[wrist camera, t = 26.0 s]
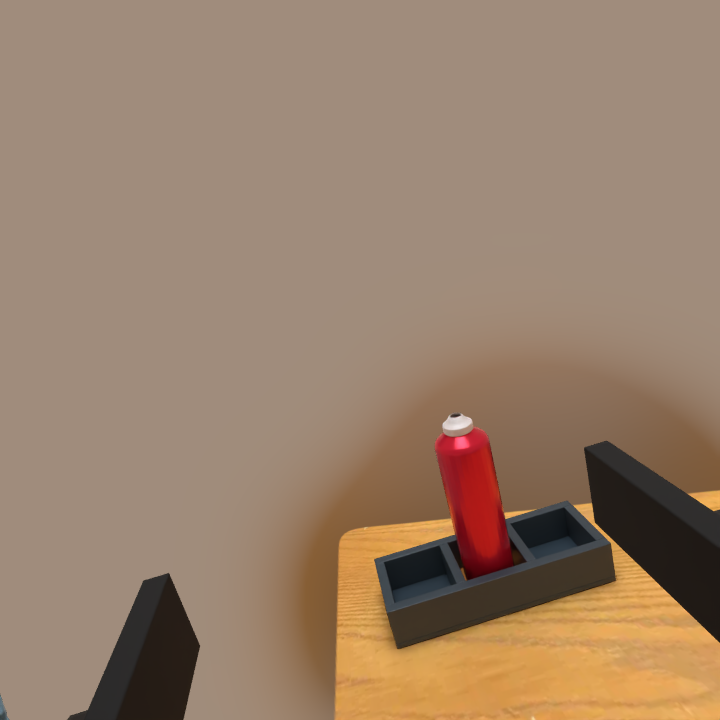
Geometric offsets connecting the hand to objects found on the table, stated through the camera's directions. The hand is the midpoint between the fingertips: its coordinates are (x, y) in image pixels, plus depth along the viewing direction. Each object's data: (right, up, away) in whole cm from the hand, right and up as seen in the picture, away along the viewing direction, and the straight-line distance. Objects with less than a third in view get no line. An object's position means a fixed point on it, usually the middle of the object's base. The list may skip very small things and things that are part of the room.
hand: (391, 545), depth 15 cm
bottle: (+14, -19, +40) cm, 46 cm away
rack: (+14, -19, +40) cm, 47 cm away
